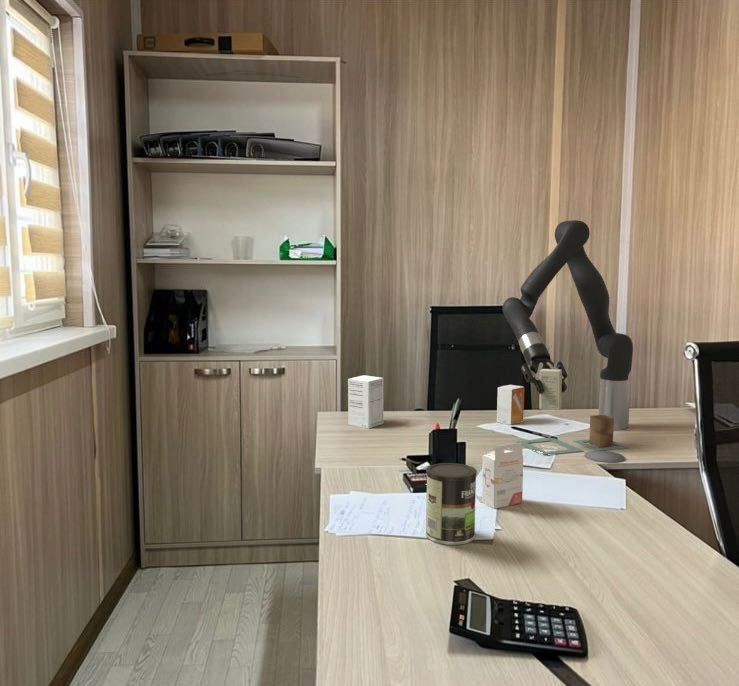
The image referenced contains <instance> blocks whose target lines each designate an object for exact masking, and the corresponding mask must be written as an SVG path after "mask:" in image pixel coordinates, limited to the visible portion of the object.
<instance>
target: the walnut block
mask: <svg viewBox="0 0 739 686" xmlns="http://www.w3.org/2000/svg"><path fill="white" fill-rule="evenodd" d="M589 418H590V419H589V421H590V422H589V438H588V439H589V442H588V444H589V445H592V446H594V447H597V448H606V447H614V445H613V441H614V431H615V430H614V418H612V417H609V416H606V415H599V414H598V415H596V414H594V415H590V417H589Z"/></svg>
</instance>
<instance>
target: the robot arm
mask: <svg viewBox="0 0 739 686" xmlns="http://www.w3.org/2000/svg"><path fill="white" fill-rule="evenodd" d="M590 235H591V234H590V228H589V226H588V224H587V223H586V222H584V221H581V220H577V219H574V220H564V221H561V222H559V223H558V224H557V226H556V228H555V230H554V239H555V242H556V244H557V245H556V246H555V247H554V249H553V250H552V251H551V252H550V253H549V255H548V256H546V258H544V259H543V260H542V261H541V262H540V263H539V264H538V265H537V266H536V267H534V269H533V270H532V271H531V272H530V274H529V275H528V277H527V278H526V279H525V280H524V281H523V283H522V285H521V286H520V289H519V290H520V293H521V296H520V298H517V297H511V296H510V297H509V298H507V299H505V301H504V302H503V303H502V314H503V315H504V317H505V319H506V321H507V323H508V324H509V327H511V329H512V330H513V333H514V335H515V338H516V339H517V342H518V344H519V347H520V351H521V352H522V355H523V357H524V360H525V363H523V364H522V366H521V368H520V370H521V372H522V374H523V376H524V379H525V381H526V383H527V384H531V383H532V384H533V385H534V387H535V389H536V392H538V393H539V395H540V394H542V393H543V392H544V387H543V385H542V383H541V381H540V370H542V369H557V370H562V393H565V392H566V391H567V388H568V387H567V384H566V382H565V380H566V379H567V378H568V373H567V371H566V368H565V367H564V365H563V363H562V361H557V362H556V363H555V362H553V361H552V360H551V354H550V353H549V349H548V348H547V345H546V344H545V342H544V340H543V338H542V337H541V335H540V333H539V330H538V328H537V327H536V325H535V324H534V322H533V321H532V320H531V318H530V317H531V316H532V315H533V313H534V310H535V308H536V306H537V303H538V300H539V299H540V297H541V296H542V294H543V293H544V292H545V290H546V289H547V288H548V286H549V285H550V283H551V282H552V281H553V280H554V278H555V277H556V276H557V274H559V272H560V271H561V270H562V269H563V267H565V265H566V264H567V266H568V269H569V272H570V275H571V277H572V280H573V283H574V285H575V288H576V291H577V294H578V296H579V299H580V301H581V304H582V306H583V309H584V311H585V314H586V316H587V318H588V321H589V324H590V326H591V330H592V335H593V338H594V341H595V345H596V349H597V350H598V353H600V355H601V356H602V357H603V358H605V359H607V365H606V367H605V368H602V369H601V370H600V372H599V374H600V375H599V396H598V397H599V399H598V415H606V416H609V417H612V418H614V430H613V431H622V430H626V429H629V421H630V403H631V402H630V401H629V400H628V396H629V395H628V393H629V391H628V390H629V389H628V388H629V376H630V374H631V371H632V367H633V366H632V365H633V364H632V363H633V357H634V355H633V354H634V344H633V340H632V339H631V338H630V336H629V335H627V334H624V333H620V332H616V330H615V329H614V326H613V324H612V321H611V319H610V315H609V314H610V313H609V312H610V310H609V309H610V293H609V291H608V288H607V285H606V282H605V280H604V278H603V276H602V275H601V273H600V272H599V271H598V268H596V267H595V265H594V263H592V261H591V260H590V258H589V257H588V255H587V253H586V250H585V247H584V246H585V245H586V243H587V242H588V241H589V238H590ZM532 372H533V374H532Z"/></svg>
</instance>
